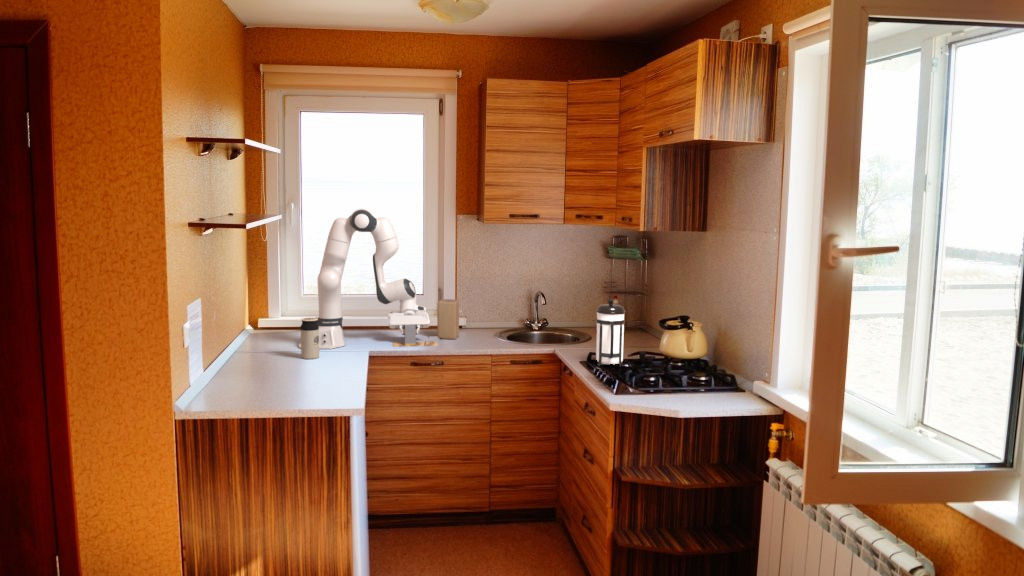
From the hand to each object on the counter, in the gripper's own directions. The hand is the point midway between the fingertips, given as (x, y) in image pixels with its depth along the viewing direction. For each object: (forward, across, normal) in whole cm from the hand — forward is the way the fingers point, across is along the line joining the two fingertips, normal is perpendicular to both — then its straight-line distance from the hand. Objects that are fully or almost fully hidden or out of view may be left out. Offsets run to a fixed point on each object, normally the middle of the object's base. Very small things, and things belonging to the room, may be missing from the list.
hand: (410, 334), depth 376 cm
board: (+4, +2, +5) cm, 7 cm away
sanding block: (+3, 0, +4) cm, 5 cm away
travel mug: (+18, -47, -8) cm, 50 cm away
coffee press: (+44, +85, -34) cm, 101 cm away
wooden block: (-12, +21, +22) cm, 33 cm away
